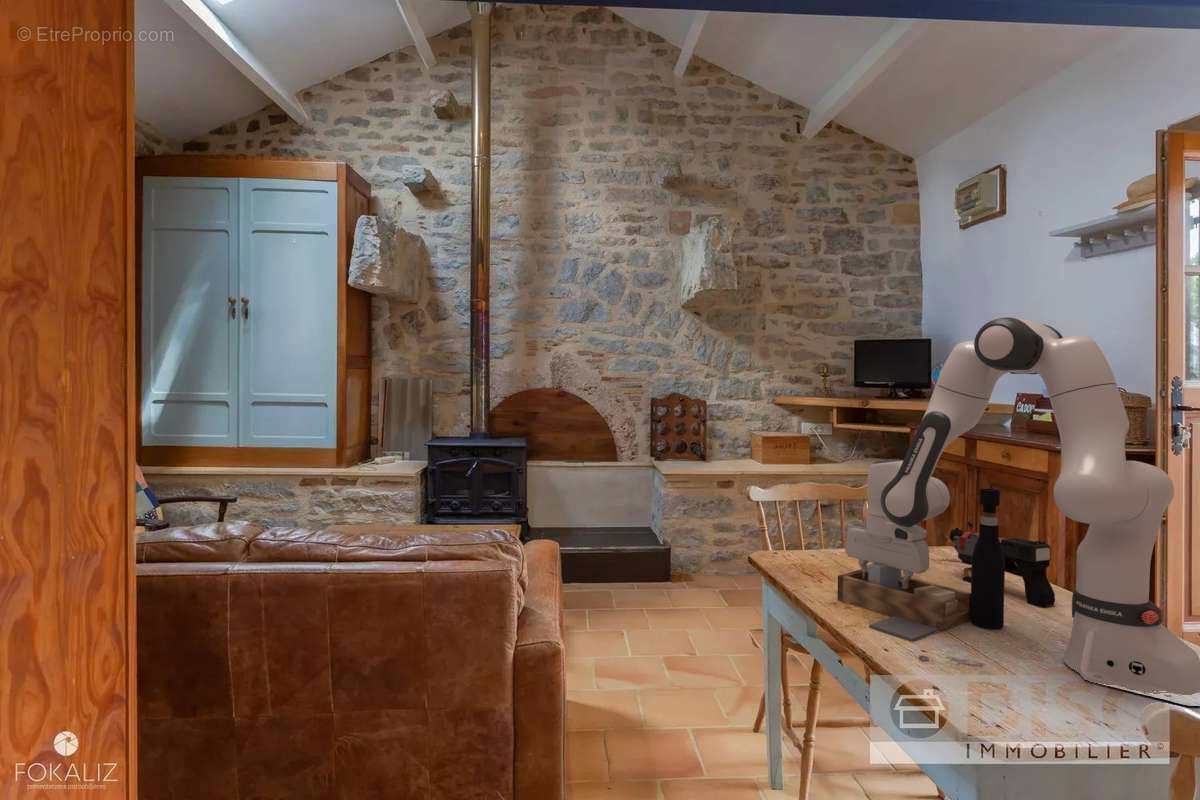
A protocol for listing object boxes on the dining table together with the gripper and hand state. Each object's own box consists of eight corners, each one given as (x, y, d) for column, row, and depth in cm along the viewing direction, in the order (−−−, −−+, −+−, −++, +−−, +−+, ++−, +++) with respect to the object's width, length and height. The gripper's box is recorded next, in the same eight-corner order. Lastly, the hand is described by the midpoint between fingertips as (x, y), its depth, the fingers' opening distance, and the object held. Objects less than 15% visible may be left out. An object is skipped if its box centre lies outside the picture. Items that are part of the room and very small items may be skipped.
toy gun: (963, 579, 193) (961, 525, 194) (1058, 606, 167) (1056, 543, 167) (944, 582, 191) (943, 527, 192) (1038, 609, 165) (1036, 545, 165)
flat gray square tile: (938, 631, 150) (938, 628, 150) (912, 641, 144) (912, 638, 144) (894, 618, 158) (895, 615, 158) (869, 627, 152) (869, 624, 152)
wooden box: (971, 619, 158) (972, 593, 157) (941, 631, 150) (942, 604, 150) (868, 590, 179) (869, 567, 178) (837, 599, 171) (837, 575, 171)
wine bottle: (1007, 630, 151) (1011, 492, 150) (975, 628, 152) (978, 491, 151) (997, 620, 157) (1000, 487, 156) (966, 618, 158) (969, 486, 157)
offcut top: (955, 601, 157) (955, 592, 157) (937, 605, 154) (937, 596, 154) (931, 593, 162) (931, 585, 162) (914, 597, 159) (914, 588, 159)
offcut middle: (957, 611, 157) (957, 600, 157) (942, 617, 153) (942, 606, 153) (927, 603, 163) (927, 592, 163) (911, 609, 159) (911, 598, 159)
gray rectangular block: (900, 602, 169) (901, 561, 169) (879, 609, 164) (880, 567, 164) (889, 599, 172) (890, 559, 172) (867, 606, 167) (868, 564, 166)
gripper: (840, 520, 174) (839, 575, 174) (918, 535, 157) (917, 596, 158) (855, 517, 178) (854, 571, 178) (933, 532, 161) (932, 591, 161)
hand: (884, 583), depth 168 cm, fingers open, 8 cm apart
